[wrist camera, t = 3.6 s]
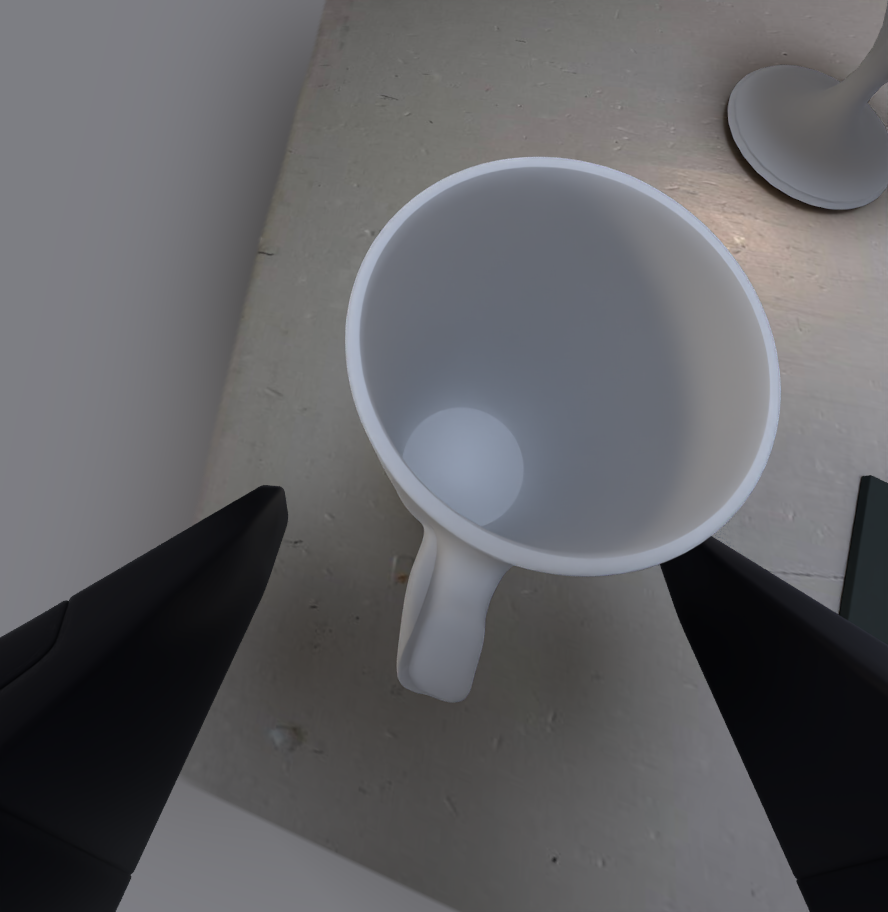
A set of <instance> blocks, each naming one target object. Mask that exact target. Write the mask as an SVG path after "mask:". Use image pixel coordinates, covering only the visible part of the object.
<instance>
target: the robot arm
mask: <svg viewBox="0 0 888 912" xmlns="http://www.w3.org/2000/svg"><path fill="white" fill-rule="evenodd" d="M287 523H288V511H287V504H286V497H285V492H284V489H283V488H282V487H280V486H270V485H263V486H260V487H258V488H256V489H255V490H253V491H251V492H250V493H248V494H246V495H245V496H243V497H241V498H239V499H238V500H236V501H234V502H233V503H231V504H229V505H227V506H226V507H224V508H222V509H221V510H219V511H217V512H215V513H214V514H212V515H210V516H209V517H207V518H205V519H203V520H202V521H200V522H198V523H197V524H195V525H193V526H191V527H190V528H188V529H187V530H185V531H183V532H181V533H180V534H178V535H176V536H174V537H173V538H171V539H169V540H168V541H166V542H164V543H162V544H161V545H159V546H157V547H156V548H154V549H152V550H150V551H149V552H147V553H146V554H144V555H142V556H140V557H138V558H137V559H135V560H133V561H132V562H130V563H128V564H127V565H125V566H123V567H122V568H120V569H118V570H116V571H115V572H113V573H111V574H110V575H108V576H106V577H104V578H103V579H101V580H99V581H97V582H96V583H94V584H92V585H91V586H89V587H87V588H86V589H84V590H82V591H80V592H79V593H77V594H75V595H74V596H72V597H71V598H70V600H69V601H63V602H61V603H59V604H58V605H56V606H54V607H53V608H51V609H49V610H48V611H46V612H44V613H43V614H41V615H39V616H37V617H36V618H34V619H32V620H30V621H29V622H27V623H25V624H23V625H22V626H20V627H18V628H16V629H14V630H13V631H11V632H9V633H8V634H6V635H4V636H2V637H0V912H116V910H117V907H118V905H119V903H120V901H121V899H122V897H123V895H124V892H125V890H126V888H127V886H128V884H129V882H130V879H131V874H132V873H133V872H134V870H135V868H136V866H137V864H138V862H139V860H140V857H141V855H142V853H143V851H144V849H145V847H146V845H147V842H148V840H149V838H150V836H151V834H152V832H153V830H154V827H155V825H156V823H157V821H158V819H159V817H160V814H161V812H162V810H163V808H164V806H165V804H166V802H167V800H168V797H169V795H170V793H171V791H172V789H173V786H174V785H175V782H176V780H177V778H178V776H179V774H180V772H181V770H182V767H183V765H184V763H185V761H186V759H187V757H188V755H189V752H190V750H191V748H192V746H193V744H194V742H195V740H196V737H197V735H198V733H199V731H200V729H201V727H202V725H203V722H204V720H205V718H206V716H207V714H208V712H209V710H210V707H211V705H212V703H213V701H214V699H215V697H216V695H217V692H218V690H219V688H220V686H221V684H222V682H223V680H224V677H225V675H226V673H227V671H228V669H229V667H230V664H231V662H232V660H233V658H234V656H235V654H236V652H237V649H238V647H239V645H240V643H241V641H242V639H243V637H244V634H245V632H246V630H247V628H248V626H249V624H250V622H251V619H252V617H253V615H254V613H255V611H256V609H257V607H258V604H259V602H260V600H261V598H262V596H263V593H264V591H265V589H266V586H267V583H268V580H269V577H270V574H271V571H272V568H273V565H274V562H275V559H276V556H277V553H278V550H279V548H280V545H281V542H282V539H283V536H284V533H285V530H286V527H287ZM660 566H661V569H662V572H663V575H664V578H665V581H666V584H667V587H668V590H669V592H670V595H671V598H672V601H673V604H674V607H675V610H676V613H677V615H678V618H679V620H680V623H681V625H682V628H683V630H684V632H685V634H686V637H687V639H688V641H689V643H690V645H691V648H692V650H693V652H694V654H695V657H696V659H697V661H698V663H699V665H700V668H701V670H702V672H703V674H704V677H705V679H706V681H707V683H708V685H709V688H710V690H711V692H712V694H713V697H714V699H715V701H716V703H717V705H718V708H719V710H720V712H721V714H722V717H723V719H724V721H725V723H726V725H727V728H728V730H729V732H730V734H731V737H732V739H733V741H734V743H735V745H736V748H737V750H738V752H739V754H740V757H741V759H742V761H743V763H744V765H745V768H746V770H747V772H748V774H749V777H750V779H751V781H752V783H753V785H754V788H755V790H756V792H757V794H758V797H759V799H760V801H761V803H762V805H763V808H764V810H765V812H766V814H767V817H768V819H769V821H770V823H771V825H772V828H773V830H774V832H775V834H776V836H777V839H778V841H779V843H780V845H781V848H782V850H783V852H784V854H785V856H786V859H787V861H788V863H789V865H790V868H791V870H792V872H793V874H794V876H795V878H796V879H797V881H796V882H797V884H798V886H799V889H800V891H801V893H802V895H803V897H804V900H805V902H806V904H807V906H808V909H809V911H810V912H888V645H887V644H885V643H884V642H882V641H880V640H879V639H877V638H876V637H874V636H872V635H871V634H869V633H867V632H866V631H864V630H863V629H861V628H859V627H858V626H856V625H854V624H853V623H851V622H850V621H848V620H846V619H845V618H843V617H842V616H840V615H838V614H837V613H835V612H833V611H832V610H830V609H829V608H827V607H825V606H824V605H822V604H820V603H819V602H817V601H816V600H814V599H812V598H811V597H809V596H808V595H806V594H804V593H803V592H801V591H799V590H798V589H796V588H795V587H793V586H791V585H790V584H788V583H786V582H785V581H783V580H782V579H780V578H778V577H777V576H775V575H774V574H772V573H770V572H769V571H767V570H765V569H764V568H762V567H761V566H759V565H757V564H756V563H754V562H752V561H751V560H749V559H748V558H746V557H744V556H743V555H741V554H740V553H738V552H736V551H735V550H733V549H731V548H730V547H728V546H727V545H725V544H723V543H722V542H720V541H718V540H717V539H715V538H714V537H712V536H710V537H709V538H708V539H706V540H705V541H704V542H702V543H701V544H699V545H698V546H696V547H694V548H693V549H691V550H689V551H687V552H686V553H684V554H682V555H680V556H678V557H676V558H673V559H671V560H669V561H667V562H664V563H661V564H660Z"/></svg>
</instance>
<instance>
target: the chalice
mask: <svg viewBox="0 0 888 912" xmlns="http://www.w3.org/2000/svg"><path fill="white" fill-rule="evenodd" d="M887 82H888V3H887V9H886V13H885V17H884V22H883V26H882V28H881V30H880V33H879V35H878V37H877V39H876V41H875V44H874V46H873V48H872V49H871V50H870V52H869V53H868V55H867V56H866V57H865V59H864V60H863V62H862V63H861V64H860V66H859V67H858V68H857V69H856V70H855V71H854V72H853V73H852V74H850V75H849V76H848V77H847V78H846V79H844V80H843V81H842V82H840V81H838V80H836V79H835V78H833V77H831V76H829V75H826V74H824V73H822V72H819V71H817V70H814V69H810V68H806V67H802V66H796V65H776V66H768V67H765V68H762V69H759V70H757V71H754V72H752V73H749V74H748V75H747V76H745V77H744V78H743V79H742V80H740V81H739V82H738V83H737V85H736V86H735V88H734V89H733V91H732V93H731V95H730V99H729V103H728V122H729V126H730V129H731V132H732V135H733V138H734V141H735V142H736V144H737V146H738V148H739V149H740V151H741V153H742V155H743V156H744V157H745V159H746V160H747V161H748V162H749V163H750V165H751V166H752V167H753V168H754V169H755V171H756V172H757V173H759V174H760V175H761V176H762V177H763V178H764V179H766V180H767V181H768V182H769V183H770V184H771V185H773V186H774V187H776V188H778V189H779V190H781V191H782V192H784V193H786V194H787V195H789V196H791V197H793V198H795V199H798V200H800V201H803V202H805V203H807V204H810V205H814V206H818V207H823V208H827V209H852V208H856V207H861V206H864V205H866V204H868V203H870V202H872V201H873V200H875V199H877V198H878V197H879V196H880V195H881V194H882V192H883V191H884V190H885V189H886V188H887V185H888V133H887V130H886V128H885V126H884V124H883V123H882V121H881V120H880V118H879V117H878V115H877V114H876V112H875V111H874V110H873V109H872V108H871V107H870V106H869V104H868V103H867V102H868V101H869V99H870V98H871V97H872V96H873V95H874V94H875V93H876V92H877V90H878V89H879V88H880V87H881V86H882V85H884V84H885V83H887Z"/></svg>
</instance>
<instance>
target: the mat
mask: <svg viewBox="0 0 888 912" xmlns="http://www.w3.org/2000/svg"><path fill="white" fill-rule="evenodd" d="M840 616H842V617H843V618H845V619H846V620H848V621H850V622H851V623H853V624H854V625H856V626H858V627H859V628H861V629H863V630H864V631H866V632H867V633H869V634H871V635H872V636H874V637H876V638H877V639H879V640H880V641H882V642H884V643H885V644H887V645H888V483H886V482H884V481H882V480H880V479H878V478H876V477H874V476H871V475H869V476H863V477H862V482H861V488H860V494H859V500H858V507H857V513H856V519H855V525H854V531H853V537H852V543H851V549H850V555H849V562H848V568H847V574H846V580H845V586H844V592H843V598H842V604H841V610H840Z"/></svg>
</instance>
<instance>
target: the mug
mask: <svg viewBox="0 0 888 912" xmlns="http://www.w3.org/2000/svg"><path fill="white" fill-rule="evenodd" d="M345 349H346V363H347V371H348V377H349V383H350V387H351V392H352V396H353V399H354V403H355V406H356V409H357V412H358V415H359V417H360V420H361V423H362V425H363V427H364V430H365V432H366V434H367V436H368V438H369V440H370V442H371V444H372V446H373V448H374V450H375V453H376V455H377V457H378V459H379V461H380V462H381V464H382V466H383V468H384V470H385V472H386V474H387V475H388V477H389V479H390V481H391V482H392V484H393V486H394V488H395V489H396V491H397V493H398V495H399V497H400V499H401V501H402V502H403V504H404V505H405V507H406V508H407V509H408V510H409V512H410V513H411V514H412V515H413V516H414V517H415V518H416V519H417V520H419V521H420V522H421V524H422V525H423V527H424V536H423V540H422V543H421V546H420V549H419V551H418V554H417V557H416V559H415V562H414V565H413V567H412V570H411V573H410V576H409V580H408V585H407V589H406V594H405V599H404V605H403V612H402V620H401V628H400V636H399V644H398V653H397V675H398V679H399V681H400V683H401V684H402V685H403V686H404V687H405V688H407V689H409V690H411V691H413V692H416V693H419V694H426V695H429V696H431V697H433V698H436V699H439V700H442V701H446V702H451V703H452V702H460V701H462V700H464V699H465V698H466V697H467V696H468V694H469V692H470V690H471V686H472V683H473V679H474V676H475V672H476V668H477V665H478V661H479V658H480V654H481V650H482V647H483V642H484V636H485V620H486V614H487V610H488V607H489V604H490V600H491V598H492V596H493V594H494V591H495V589H496V587H497V585H498V583H499V582H500V580H501V579H502V577H503V575H504V574H505V573H506V572H507V571H508V570H509V569H510V568H511V567H512V566H518V567H522V568H525V569H529V570H533V571H538V572H543V573H549V574H556V575H565V576H582V577H591V576H609V575H617V574H624V573H629V572H634V571H638V570H643V569H646V568H649V567H653V566H656V565H659V564H661V563H664V562H667V561H669V560H671V559H673V558H676V557H678V556H680V555H682V554H684V553H686V552H687V551H689V550H691V549H693V548H694V547H696V546H698V545H699V544H701V543H702V542H704V541H705V540H706V539H708V538H709V537H710V536H712V535H713V534H714V533H715V532H717V531H718V530H719V529H720V528H721V527H722V526H723V525H724V524H725V523H726V522H728V521H729V520H730V518H731V517H732V516H733V515H734V514H735V513H736V512H737V511H738V510H739V508H740V507H741V506H742V505H743V503H744V502H745V501H746V499H747V498H748V496H749V495H750V493H751V492H752V490H753V489H754V487H755V485H756V484H757V482H758V480H759V478H760V476H761V474H762V472H763V470H764V468H765V465H766V463H767V461H768V458H769V455H770V453H771V450H772V446H773V443H774V439H775V435H776V431H777V426H778V420H779V412H780V395H781V388H780V371H779V363H778V357H777V351H776V347H775V342H774V338H773V335H772V331H771V328H770V325H769V322H768V319H767V317H766V314H765V312H764V309H763V307H762V304H761V302H760V300H759V298H758V296H757V294H756V292H755V290H754V288H753V286H752V285H751V283H750V281H749V279H748V278H747V276H746V274H745V273H744V271H743V270H742V268H741V267H740V265H739V264H738V262H737V261H736V260H735V258H734V257H733V256H732V254H731V253H730V252H729V251H728V249H727V248H726V247H725V246H724V245H723V243H722V242H721V241H720V240H719V239H718V238H717V237H716V236H715V235H714V234H713V233H712V232H711V231H710V230H709V229H708V228H707V227H706V226H705V225H704V224H703V223H702V222H701V221H700V220H699V219H698V218H696V217H695V216H694V215H693V214H692V213H691V212H689V211H688V210H687V209H686V208H684V207H683V206H682V205H680V204H679V203H678V202H676V201H675V200H673V199H672V198H670V197H669V196H667V195H666V194H664V193H663V192H661V191H659V190H658V189H656V188H654V187H652V186H651V185H649V184H647V183H645V182H643V181H641V180H639V179H637V178H635V177H633V176H630V175H628V174H625V173H623V172H620V171H617V170H614V169H611V168H608V167H605V166H601V165H597V164H594V163H589V162H584V161H579V160H573V159H566V158H555V157H521V158H511V159H504V160H498V161H493V162H488V163H484V164H481V165H477V166H474V167H471V168H468V169H465V170H462V171H460V172H457V173H455V174H453V175H451V176H448V177H446V178H444V179H443V180H441V181H439V182H437V183H435V184H434V185H432V186H430V187H429V188H427V189H426V190H424V191H423V192H421V193H420V194H418V195H417V196H416V197H414V198H413V199H412V200H411V201H409V202H408V203H407V204H406V205H405V206H404V207H403V208H401V209H400V210H399V211H398V212H397V213H396V214H395V215H394V216H393V218H392V219H391V220H390V221H389V222H388V223H387V224H386V226H385V227H384V228H383V229H382V231H381V232H380V233H379V235H378V236H377V238H376V239H375V241H374V242H373V244H372V245H371V247H370V249H369V251H368V252H367V254H366V256H365V258H364V260H363V262H362V264H361V267H360V269H359V271H358V274H357V277H356V279H355V282H354V286H353V289H352V292H351V297H350V301H349V306H348V312H347V320H346V332H345Z"/></svg>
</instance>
